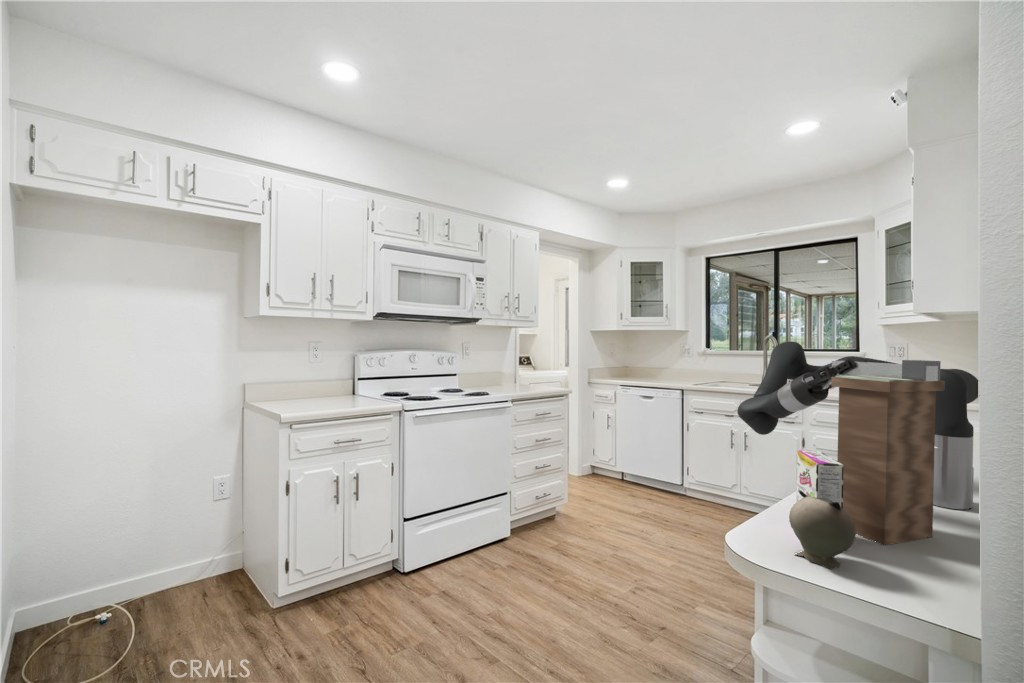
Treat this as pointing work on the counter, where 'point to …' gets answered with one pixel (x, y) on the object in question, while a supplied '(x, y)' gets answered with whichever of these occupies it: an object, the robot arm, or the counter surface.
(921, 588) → the counter surface
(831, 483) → the candy bar box
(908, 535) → the stand
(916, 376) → the brushed steel block
